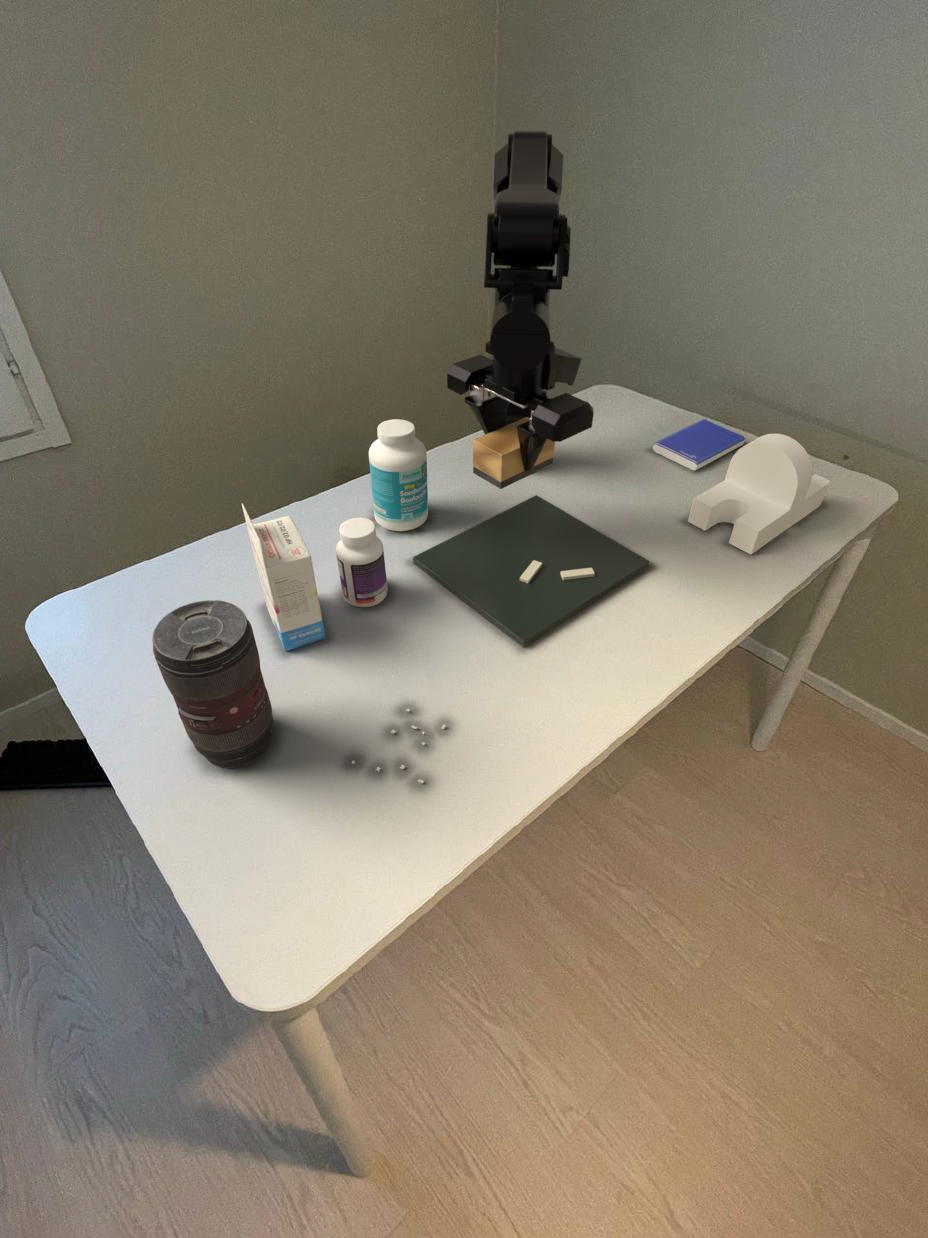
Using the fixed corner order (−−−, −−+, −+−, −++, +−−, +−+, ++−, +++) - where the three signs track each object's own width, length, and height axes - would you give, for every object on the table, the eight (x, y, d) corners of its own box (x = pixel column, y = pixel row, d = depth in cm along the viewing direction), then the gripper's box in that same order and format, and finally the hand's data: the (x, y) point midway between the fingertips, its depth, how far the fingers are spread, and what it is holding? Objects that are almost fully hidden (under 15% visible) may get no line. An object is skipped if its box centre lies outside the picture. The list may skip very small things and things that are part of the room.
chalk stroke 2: (563, 580, 85) (563, 577, 85) (560, 574, 86) (560, 571, 86) (594, 576, 86) (595, 573, 85) (591, 570, 87) (591, 567, 86)
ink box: (328, 639, 79) (308, 531, 69) (284, 653, 77) (258, 544, 67) (306, 594, 85) (285, 489, 75) (265, 607, 83) (238, 500, 73)
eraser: (472, 472, 86) (473, 439, 83) (524, 449, 91) (527, 416, 88) (500, 489, 84) (502, 455, 81) (553, 464, 88) (556, 430, 85)
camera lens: (293, 749, 68) (263, 638, 58) (210, 788, 65) (163, 677, 54) (262, 696, 73) (230, 584, 63) (184, 730, 70) (137, 618, 59)
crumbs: (390, 703, 72) (390, 702, 72) (454, 724, 70) (454, 723, 70) (351, 762, 66) (351, 762, 66) (420, 787, 64) (420, 787, 64)
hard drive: (697, 462, 105) (746, 436, 110) (654, 441, 109) (702, 417, 115) (695, 471, 106) (743, 445, 112) (652, 450, 110) (700, 426, 116)
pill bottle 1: (396, 586, 86) (390, 520, 79) (373, 613, 82) (365, 546, 76) (357, 575, 87) (349, 509, 81) (334, 601, 84) (323, 534, 77)
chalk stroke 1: (528, 583, 85) (528, 580, 84) (519, 580, 85) (519, 577, 85) (542, 565, 87) (542, 562, 87) (533, 562, 88) (533, 559, 87)
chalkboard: (413, 563, 89) (412, 557, 89) (536, 500, 100) (536, 494, 99) (523, 647, 78) (523, 641, 77) (648, 567, 89) (650, 561, 88)
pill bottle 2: (409, 539, 93) (403, 447, 84) (363, 523, 96) (353, 432, 86) (439, 512, 98) (436, 422, 89) (394, 497, 100) (387, 408, 91)
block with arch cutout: (750, 554, 91) (776, 480, 83) (687, 521, 96) (706, 448, 89) (822, 504, 99) (851, 432, 92) (760, 476, 105) (783, 406, 97)
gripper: (636, 339, 75) (614, 469, 85) (513, 294, 85) (508, 415, 96) (564, 367, 69) (550, 502, 80) (443, 316, 80) (445, 441, 90)
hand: (513, 461), depth 87 cm, fingers closed on eraser, 5 cm apart
